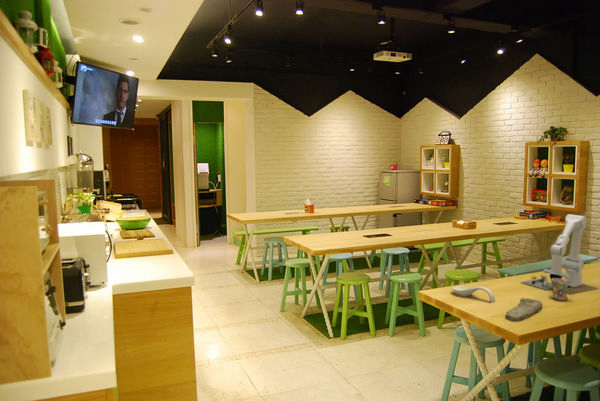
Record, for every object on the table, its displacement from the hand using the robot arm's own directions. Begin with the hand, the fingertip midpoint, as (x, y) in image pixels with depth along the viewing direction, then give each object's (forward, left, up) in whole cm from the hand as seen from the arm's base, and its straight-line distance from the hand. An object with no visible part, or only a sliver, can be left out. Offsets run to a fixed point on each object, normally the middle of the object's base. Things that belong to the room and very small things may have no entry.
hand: (554, 287), depth 269 cm
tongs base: (-3, -13, -1) cm, 13 cm away
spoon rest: (+54, -15, -3) cm, 56 cm away
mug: (+12, +9, -2) cm, 15 cm away
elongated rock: (+50, +14, -3) cm, 52 cm away
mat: (-3, -11, -2) cm, 11 cm away
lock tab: (-5, -16, -1) cm, 17 cm away
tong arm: (-4, -10, -1) cm, 11 cm away
